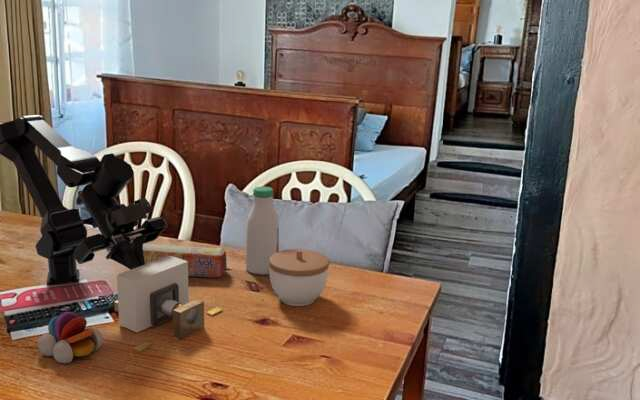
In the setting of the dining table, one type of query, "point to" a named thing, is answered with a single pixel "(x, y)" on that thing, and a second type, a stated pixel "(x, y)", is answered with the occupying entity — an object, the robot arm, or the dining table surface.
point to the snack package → (191, 258)
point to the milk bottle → (261, 232)
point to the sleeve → (150, 291)
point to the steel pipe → (180, 317)
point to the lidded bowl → (298, 275)
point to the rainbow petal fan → (69, 338)
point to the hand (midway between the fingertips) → (144, 274)
